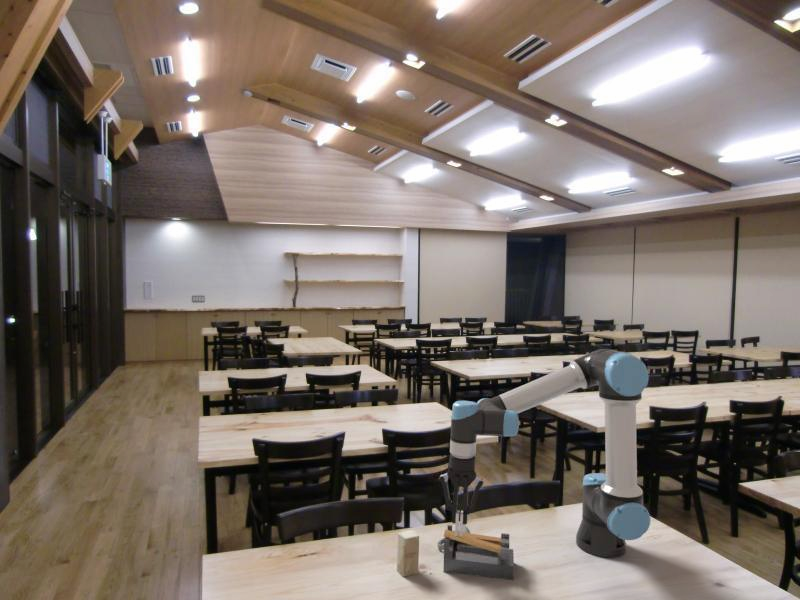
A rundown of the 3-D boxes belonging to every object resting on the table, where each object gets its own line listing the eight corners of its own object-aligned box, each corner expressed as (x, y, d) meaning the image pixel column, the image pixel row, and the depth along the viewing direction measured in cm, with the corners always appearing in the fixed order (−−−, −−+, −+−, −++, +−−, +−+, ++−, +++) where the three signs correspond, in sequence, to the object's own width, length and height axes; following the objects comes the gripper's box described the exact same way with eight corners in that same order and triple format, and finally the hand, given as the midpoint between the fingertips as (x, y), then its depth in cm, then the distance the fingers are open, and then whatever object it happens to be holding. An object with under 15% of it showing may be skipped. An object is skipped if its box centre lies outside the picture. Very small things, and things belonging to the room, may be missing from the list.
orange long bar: (508, 543, 158) (508, 537, 158) (508, 547, 156) (508, 541, 156) (445, 534, 162) (445, 529, 162) (444, 538, 160) (445, 532, 160)
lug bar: (455, 543, 163) (455, 525, 163) (452, 559, 153) (452, 540, 153) (447, 542, 163) (447, 524, 163) (443, 558, 153) (444, 539, 153)
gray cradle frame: (513, 562, 159) (513, 534, 159) (513, 580, 149) (514, 550, 149) (447, 554, 163) (447, 527, 163) (443, 571, 153) (444, 542, 153)
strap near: (507, 552, 153) (508, 547, 153) (507, 557, 151) (508, 551, 151) (444, 533, 157) (445, 528, 157) (443, 537, 154) (444, 531, 154)
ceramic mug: (470, 544, 170) (470, 521, 170) (470, 557, 162) (470, 532, 162) (438, 542, 172) (438, 519, 172) (436, 554, 164) (436, 530, 164)
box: (403, 577, 150) (403, 538, 150) (396, 570, 154) (396, 532, 154) (419, 573, 153) (419, 535, 152) (412, 565, 156) (412, 529, 156)
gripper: (486, 453, 156) (482, 531, 157) (441, 448, 159) (437, 525, 160) (485, 461, 149) (481, 543, 150) (437, 456, 152) (434, 536, 152)
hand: (458, 534), depth 155 cm, fingers closed
